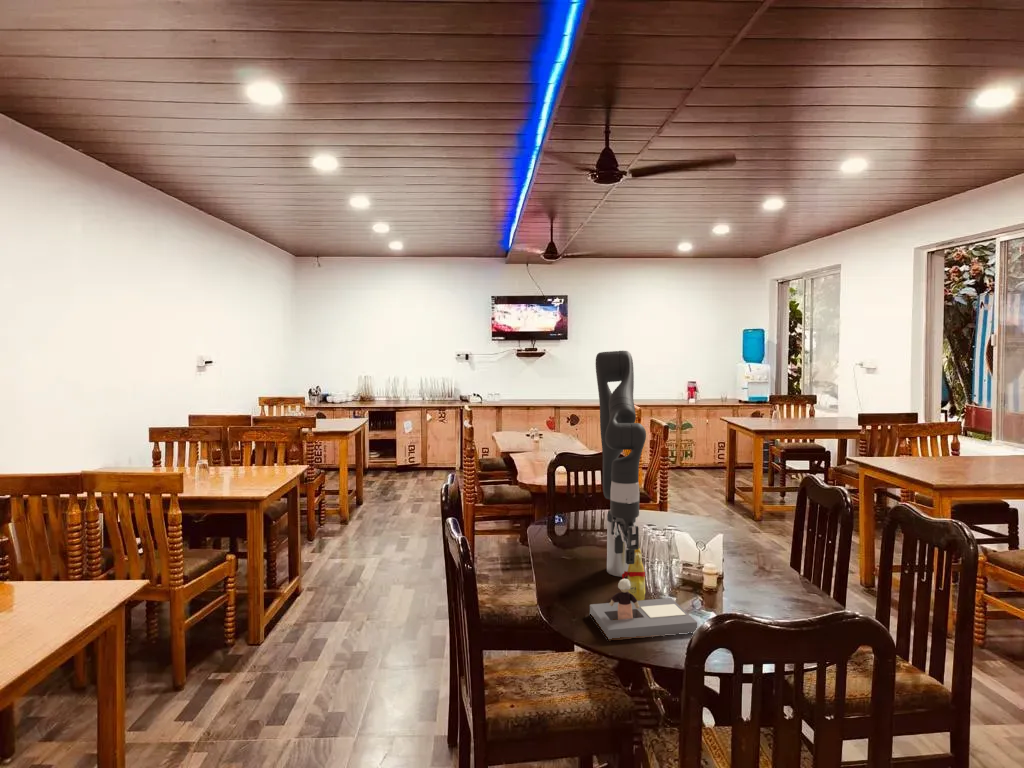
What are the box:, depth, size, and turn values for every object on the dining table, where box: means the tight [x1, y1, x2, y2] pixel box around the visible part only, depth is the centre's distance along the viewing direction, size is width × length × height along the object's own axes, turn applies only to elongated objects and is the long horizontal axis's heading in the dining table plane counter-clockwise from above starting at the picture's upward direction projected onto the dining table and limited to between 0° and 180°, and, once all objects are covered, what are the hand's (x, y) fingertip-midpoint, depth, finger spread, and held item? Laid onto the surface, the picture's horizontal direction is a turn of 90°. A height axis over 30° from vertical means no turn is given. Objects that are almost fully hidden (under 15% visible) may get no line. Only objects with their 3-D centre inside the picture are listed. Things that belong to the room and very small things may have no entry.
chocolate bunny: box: [621, 547, 646, 601], centre depth 192 cm, size 7×11×15 cm, turn 175°
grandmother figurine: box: [609, 578, 639, 620], centre depth 171 cm, size 8×4×13 cm, turn 92°
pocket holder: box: [589, 597, 698, 639], centre depth 172 cm, size 16×24×3 cm, turn 100°
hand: (624, 558), depth 170 cm, fingers open, 8 cm apart
